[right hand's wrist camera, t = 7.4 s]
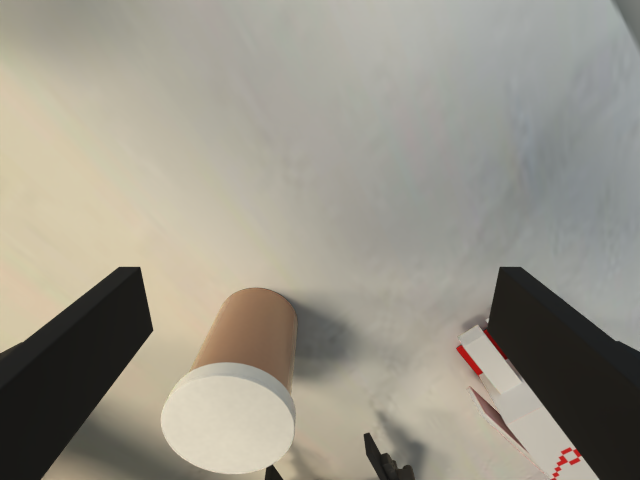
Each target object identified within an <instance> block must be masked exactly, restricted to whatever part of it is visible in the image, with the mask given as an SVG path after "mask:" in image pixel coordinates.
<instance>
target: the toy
mask: <svg viewBox="0 0 640 480" xmlns="http://www.w3.org/2000/svg"><path fill="white" fill-rule="evenodd" d="M486 322H487V323H488V322H489V318H488V319H486ZM458 339H459V341H460V342H461V344H462V345H461V346H459V347H457V348H456V349H457V351H458V352H459V353H460V354H461V356H462V357H463V358H464V359H465V361H466V362H467V363H468V364H469V365H470V367H471V368H472V369H473V370H474V371H475V373H476V374H477V375H478V376H479V378H480V379H481V381H482V382H483V384H484V386H485V388H486V390H487V391H488V393H489V395H490V397H491V399H492V400H493V402H494V404H495V406H496V407H497V409H498V411H499V413H500V414H499V413H498V412H497V411H496V410H495V409H494V408H493V407H492V406H491V405H490V404H488V403H487V402H486V401H485V400H484V399H483V398H482V397H481V396H480V395H479V394H478V393H477V392H476V391H475V390H473V389H472V388H471V387H470V386H469V387H468V388H466V389H467V391H468V393H469V394H470V396H471V398H472V400H473V402H474V404H475V405H476V407H477V409H478V411H479V413H480V415H481V416H482V417H483V418H484V419H485V420H486V421H487V422H488V423H490V424H491V425H492V426H493V427H494V428H495V429H496V430H497V431H498V432H499V433H500V434H501V435H503V436H504V437H505V438H506V439H507V440H508V441H509V442H510V443H511V444H512V445H513V446H515V447H516V448H517V449H518V450H519V451H520V452H521V453H522V454H523V455H524V456H525V457H526V458H528V459H529V460H530V461H531V462H532V463H533V464H534V465H535V466H536V467H537V468H538V469H539V470H541V471H542V472H543V473H545V474H546V475H547V476H548V478H549V479H550V480H599V478H598V477H597V476H596V474H595V473H594V472H593V470H592V469H591V468H590V466H589V465H588V464H587V463H586V461H585V460H584V459H583V457H582V456H581V455H580V453H579V452H578V451H577V449H576V448H575V447H574V445H573V444H572V443H571V441H570V440H569V439H568V437H567V436H566V435H565V433H564V432H563V431H562V429H561V428H560V427H559V425H558V424H557V423H556V421H555V420H554V419H553V418H552V416H551V415H550V414H549V412H548V411H547V410H546V408H545V407H544V406H543V404H542V403H541V402H540V400H539V399H538V398H537V396H536V395H535V394H534V392H533V391H532V390H531V388H530V387H529V386H528V384H527V383H526V382H525V380H524V379H523V378H522V376H521V375H520V374H519V373H518V371H517V370H516V369H515V367H514V366H513V365H512V363H511V362H510V361H509V359H508V358H507V357H506V355H505V354H504V353H503V351H502V350H501V349H500V347H499V346H498V345H497V343H496V342H495V341H494V339H493V338H492V337H491V335H490V334H489V333H488V331H487V329H486V330H484V331H482V329H481V328H480V327H479V326H478V325H476V326H474V327H473V328H471V329H470V330H468V331H466V332H465V333H463V334H461V335H460V336H458Z"/></svg>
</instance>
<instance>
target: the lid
mask: <svg viewBox="0 0 640 480" xmlns="http://www.w3.org/2000/svg"><path fill="white" fill-rule="evenodd" d="M295 419H296V411H295V405H294V402H293V399H292V397H291V395H290V393H289V392H288V391H287V389H286V388H285V387H284V386H283V385H282V383H281V382H279V381H278V380H277V379H276V378H275V377H273V376H272V375H270V374H268V373H267V372H265V371H263V370H261V369H258V368H255V367H253V366H249V365H245V364H240V363H229V362H224V363H214V364H208V365H205V366H201V367H199V368H196V369H194V370H192V371H191V372H189V373H187V374H186V375H185V376H183V377H182V378H181V379H180V380H179V381H178V382H177V383H176V385H175V386H174V388H173V389H172V391H171V393H170V395H169V397H168V399H167V401H166V403H165V405H164V407H163V410H162V414H161V427H162V431H163V434H164V437H165V439H166V441H167V442H168V444H169V445H170V447H171V448H172V449H173V450H174V451H175V452H176V453H177V454H178V455H179V456H180V457H182V458H183V459H185V460H186V461H188V462H189V463H191V464H193V465H195V466H197V467H200V468H202V469H205V470H208V471H212V472H217V473H223V474H244V473H251V472H255V471H259V470H261V469H264V468H266V467H268V466H270V465H272V464H274V463H275V462H277V461H278V460H279V459H281V458H282V457H283V456H284V455H285V453H286V452H287V451H288V449H289V448H290V446H291V444H292V441H293V438H294V433H295Z"/></svg>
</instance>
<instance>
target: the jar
mask: <svg viewBox="0 0 640 480" xmlns="http://www.w3.org/2000/svg"><path fill="white" fill-rule="evenodd" d="M297 327H298V321H297V316H296V313H295V310H294V309H293V307H292V305H291V304H290V303H289V302H288V301H287V300H286V299H285V298H284V297H282V296H281V295H279V294H278V293H276V292H273V291H271V290H267V289H262V288H249V289H244V290H241V291H238V292H236V293H234V294H232V295H231V296H230V297H228V298H227V299H226V300H225V302H224V303H223V304H222V306H221V308H220V310H219V312H218V314H217V316H216V318H215V320H214V322H213V324H212V326H211V328H210V330H209V332H208V334H207V336H206V338H205V340H204V343H203V345H202V347H201V349H200V351H199V353H198V355H197V357H196V359H195V361H194V363H193V365H192V367H191V369H190V371H189V372H191V371H192V370H194V369H196V368H199V367H201V366H205V365H208V364H214V363H224V362H229V363H240V364H245V365H249V366H253V367H255V368H258V369H261V370H263V371H265V372H267V373H268V374H270V375H272V376H273V377H275V378H276V379H277V380H278V381H279V382H281V383H282V385H283V386H284V387H285V388H286V389H287V391H288V392H289V393H290V395H291V390H292V379H293V369H294V358H295V348H296V338H297Z"/></svg>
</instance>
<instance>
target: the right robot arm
mask: <svg viewBox="0 0 640 480" xmlns="http://www.w3.org/2000/svg"><path fill="white" fill-rule="evenodd" d="M152 331H153V327H152V322H151V317H150V312H149V307H148V302H147V297H146V293H145V288H144V283H143V278H142V273H141V268H140V267H119V268H117V269H116V270H115V271H113V272H112V273H111V274H110V275H108V276H107V277H106V278H104V279H103V280H102V281H101V282H99V283H98V284H97V285H96V286H94V287H93V288H92V289H90V290H89V291H88V292H87V293H85V294H84V295H83V296H81V297H80V298H79V299H78V300H76V301H75V302H74V303H73V304H71V305H70V306H69V307H67V308H66V309H65V310H64V311H62V312H61V313H60V314H58V315H57V316H56V317H55V318H53V319H52V320H51V321H50V322H48V323H47V324H46V325H44V326H43V327H42V328H41V329H39V330H38V331H37V332H35V333H34V334H33V335H32V336H30V337H29V338H28V339H27V340H25V341H24V342H21V343H19V344H17V345H15V346H14V347H12V348H10V349H8V350H6V351H4V352H2V353H0V480H41V478H42V477H43V476H44V474H45V473H46V472H47V470H48V469H49V468H50V466H51V465H52V464H53V463H54V461H55V460H56V459H57V457H58V456H59V455H60V453H61V452H62V451H63V449H64V448H65V447H66V445H67V444H68V443H69V441H70V440H71V439H72V437H73V436H74V435H75V433H76V432H77V431H78V429H79V428H80V427H81V425H82V424H83V423H84V421H85V420H86V419H87V418H88V416H89V415H90V414H91V412H92V411H93V410H94V408H95V407H96V406H97V404H98V403H99V402H100V400H101V399H102V398H103V396H104V395H105V394H106V392H107V391H108V390H109V388H110V387H111V386H112V384H113V383H114V382H115V380H116V379H117V378H118V376H119V375H120V374H121V373H122V371H123V370H124V369H125V367H126V366H127V365H128V363H129V362H130V361H131V359H132V358H133V357H134V355H135V354H136V353H137V351H138V350H139V349H140V347H141V346H142V345H143V343H144V342H145V341H146V339H147V338H148V337H149V335H150V334H151V333H152ZM487 331H488V333H489V334H490V335H491V337H492V338H493V339H494V341H495V342H496V343H497V345H498V346H499V347H500V349H501V350H502V351H503V353H504V354H505V355H506V357H507V358H508V359H509V361H510V362H511V363H512V365H513V366H514V367H515V369H516V370H517V371H518V373H519V374H520V375H521V376H522V378H523V379H524V380H525V382H526V383H527V384H528V386H529V387H530V388H531V390H532V391H533V392H534V394H535V395H536V396H537V398H538V399H539V400H540V402H541V403H542V404H543V406H544V407H545V408H546V410H547V411H548V412H549V414H550V415H551V416H552V418H553V419H554V420H555V421H556V423H557V424H558V425H559V427H560V428H561V429H562V431H563V432H564V433H565V435H566V436H567V437H568V439H569V440H570V441H571V443H572V444H573V445H574V447H575V448H576V449H577V451H578V452H579V453H580V455H581V456H582V457H583V459H584V460H585V461H586V463H587V464H588V465H589V466H590V468H591V469H592V470H593V472H594V473H595V474H596V476H597V477H598V478H599V480H640V352H639V351H637V350H635V349H633V348H631V347H629V346H627V345H625V344H624V343H622V342H620V341H615V340H613V339H612V338H611V337H610V336H608V335H607V334H606V333H605V332H603V331H602V330H601V329H599V328H598V327H597V326H596V325H594V324H593V323H592V322H590V321H589V320H588V319H587V318H585V317H584V316H583V315H582V314H580V313H579V312H578V311H576V310H575V309H574V308H573V307H571V306H570V305H569V304H567V303H566V302H565V301H564V300H562V299H561V298H560V297H559V296H557V295H556V294H555V293H553V292H552V291H551V290H550V289H548V288H547V287H546V286H544V285H543V284H542V283H541V282H539V281H538V280H537V279H536V278H534V277H533V276H532V275H530V274H529V273H528V272H527V271H525V270H524V269H523V268H521V267H500V268H499V273H498V278H497V283H496V288H495V293H494V297H493V302H492V307H491V312H490V317H489V322H488V327H487Z"/></svg>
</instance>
